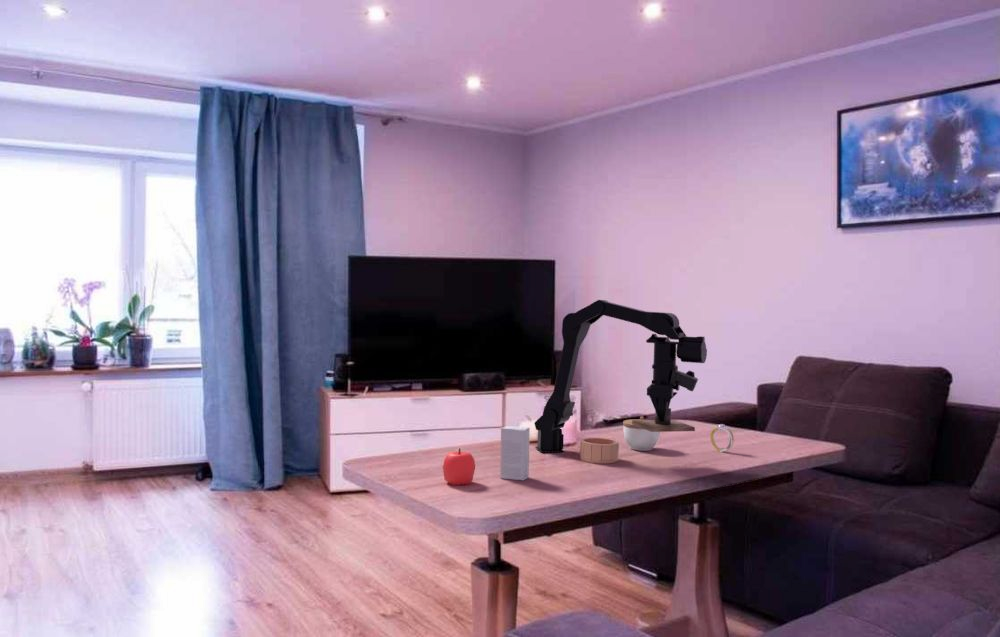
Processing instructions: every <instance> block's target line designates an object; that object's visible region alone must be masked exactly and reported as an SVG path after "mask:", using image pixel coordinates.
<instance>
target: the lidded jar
mask: <svg viewBox="0 0 1000 637" xmlns="http://www.w3.org/2000/svg"><path fill="white" fill-rule="evenodd" d="M644 418H645V417H644V416H640V417H639V419H634V418H633V419H626V420H623V422H622V425H623V431H622V432H623V438H624V441H625V443H626V444H627V445H628V446H629V447H630V448H629V449H631V450H633V451H642V452H643V451H644V452H645V451H646V452H648V451H651V450H652V449H653V448H654V447H656V445H657V443H658V442H659V438H660V433H661V432H651V431H648V430H646V429H643V428H641V427H638V426H636V425H634V424H632V420H645V419H644Z"/></svg>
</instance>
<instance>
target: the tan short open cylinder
mask: <svg viewBox="0 0 1000 637" xmlns="http://www.w3.org/2000/svg"><path fill="white" fill-rule="evenodd" d="M579 445H580V446H579V448H580V450H579V457H580V460H581V461H583V462H586V463H590V464H599V465H601V464H604V465H605V464H606V465H607V464H614V463H618V461H619V454H620V453H619V451H620V450H619V449H620V446H619V445H620V441H618V440H616V439H612V438H606V437H586V438H582V439H580V444H579Z"/></svg>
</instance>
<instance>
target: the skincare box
mask: <svg viewBox="0 0 1000 637" xmlns="http://www.w3.org/2000/svg"><path fill="white" fill-rule="evenodd" d="M530 432H531V431H530V427H524V426H511V425H506V426H504V427H502V428H500V471H499V472H500V474H499V475H500V476H499V477H500V479H505V480H514V481H525V480H526V479H528V478H529V476H530V474H529V473H530Z"/></svg>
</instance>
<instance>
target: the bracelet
mask: <svg viewBox="0 0 1000 637" xmlns="http://www.w3.org/2000/svg"><path fill="white" fill-rule="evenodd" d="M717 431H725V432H726V433H727V435H728V438H729V439H728V440H729V443H728V444H727V445H728V446H727V447H726V448H723V447H719V446H718V444H717V443H716V440H715V435H716V433H717ZM734 438H735V437H734V434H733V432H732V430H731V429H729V428H728V426H727V425H725V423H724V424H723V423H720V424H716V427H715V428H714V429H712V430H711V432H710V442H711V445H712V446H713V447H714V449H715V450H717V451H719V452H720V453H722V452H723V453H724V452H727V451H729V450H730V449H731V448H732V446H733V445H734Z"/></svg>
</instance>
